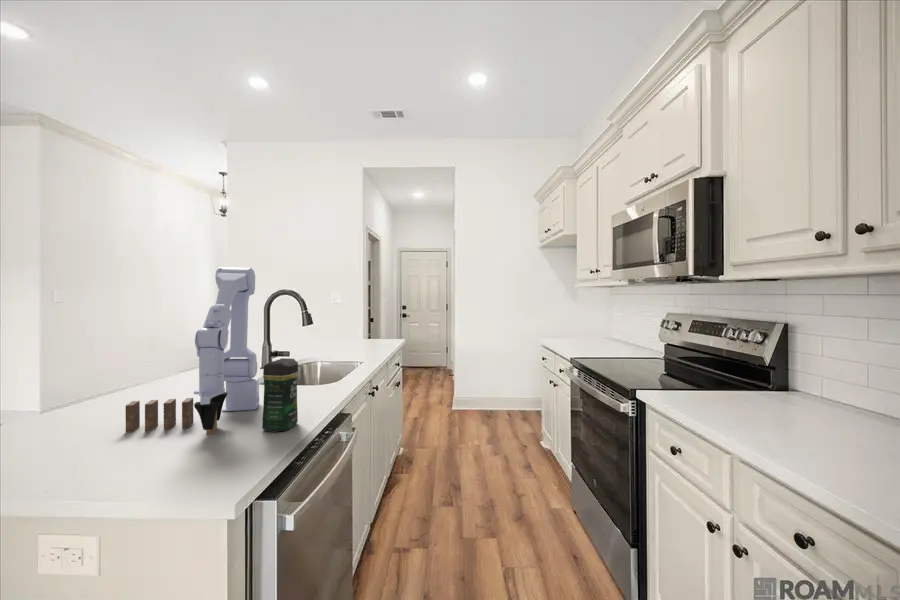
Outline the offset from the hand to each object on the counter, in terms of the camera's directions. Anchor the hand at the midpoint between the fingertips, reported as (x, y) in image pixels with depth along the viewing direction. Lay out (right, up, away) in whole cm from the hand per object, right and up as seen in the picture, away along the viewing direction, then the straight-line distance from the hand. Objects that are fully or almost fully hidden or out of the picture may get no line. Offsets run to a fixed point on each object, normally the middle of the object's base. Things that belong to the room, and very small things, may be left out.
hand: (211, 424), depth 111 cm
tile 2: (-9, -2, +4) cm, 10 cm away
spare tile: (0, -2, 0) cm, 2 cm away
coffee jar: (+16, -2, +4) cm, 17 cm away
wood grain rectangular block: (-21, -1, +1) cm, 21 cm away
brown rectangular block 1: (-17, -1, +2) cm, 17 cm away
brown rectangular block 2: (-13, -2, +3) cm, 14 cm away
